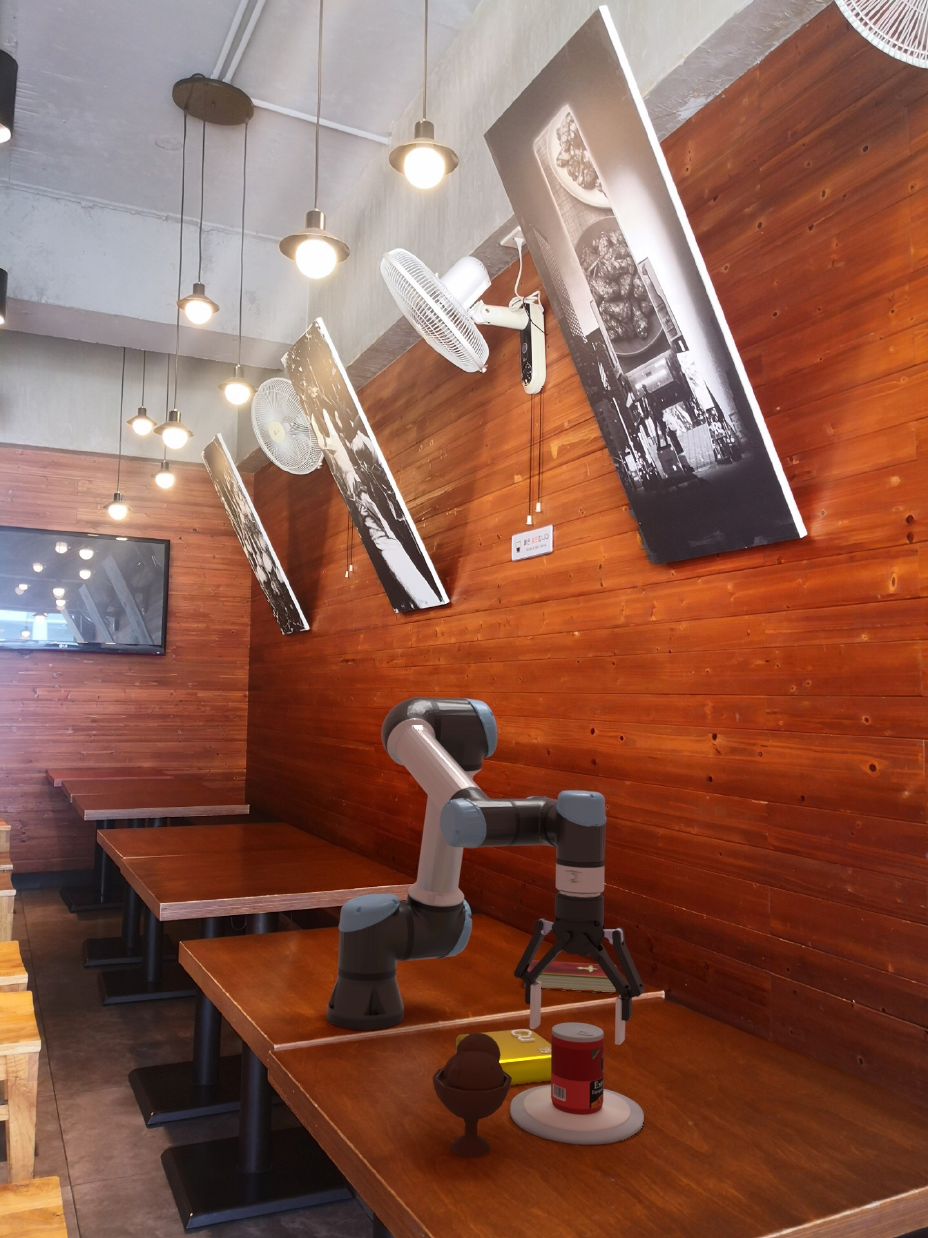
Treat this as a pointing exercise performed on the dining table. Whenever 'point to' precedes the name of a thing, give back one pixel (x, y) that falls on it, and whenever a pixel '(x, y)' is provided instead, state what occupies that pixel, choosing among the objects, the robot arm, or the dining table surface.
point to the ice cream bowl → (472, 1089)
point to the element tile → (522, 1055)
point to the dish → (576, 1118)
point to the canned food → (577, 1068)
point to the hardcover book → (574, 976)
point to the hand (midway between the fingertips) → (576, 1034)
